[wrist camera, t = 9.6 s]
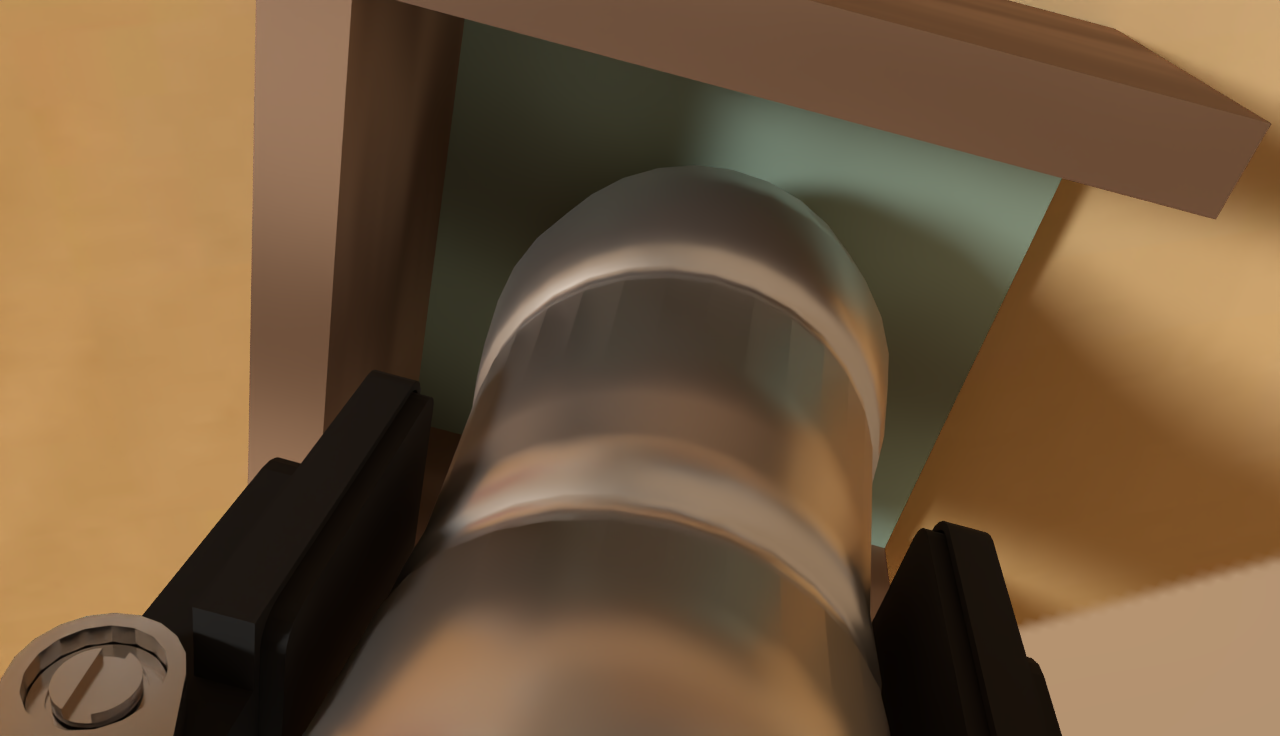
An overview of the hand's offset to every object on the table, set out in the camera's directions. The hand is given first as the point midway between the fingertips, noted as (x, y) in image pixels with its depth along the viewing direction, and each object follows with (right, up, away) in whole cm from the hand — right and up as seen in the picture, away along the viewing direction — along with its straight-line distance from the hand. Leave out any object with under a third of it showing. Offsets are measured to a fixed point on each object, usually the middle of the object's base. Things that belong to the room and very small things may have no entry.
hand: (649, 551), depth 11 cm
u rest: (+1, +4, +8) cm, 9 cm away
